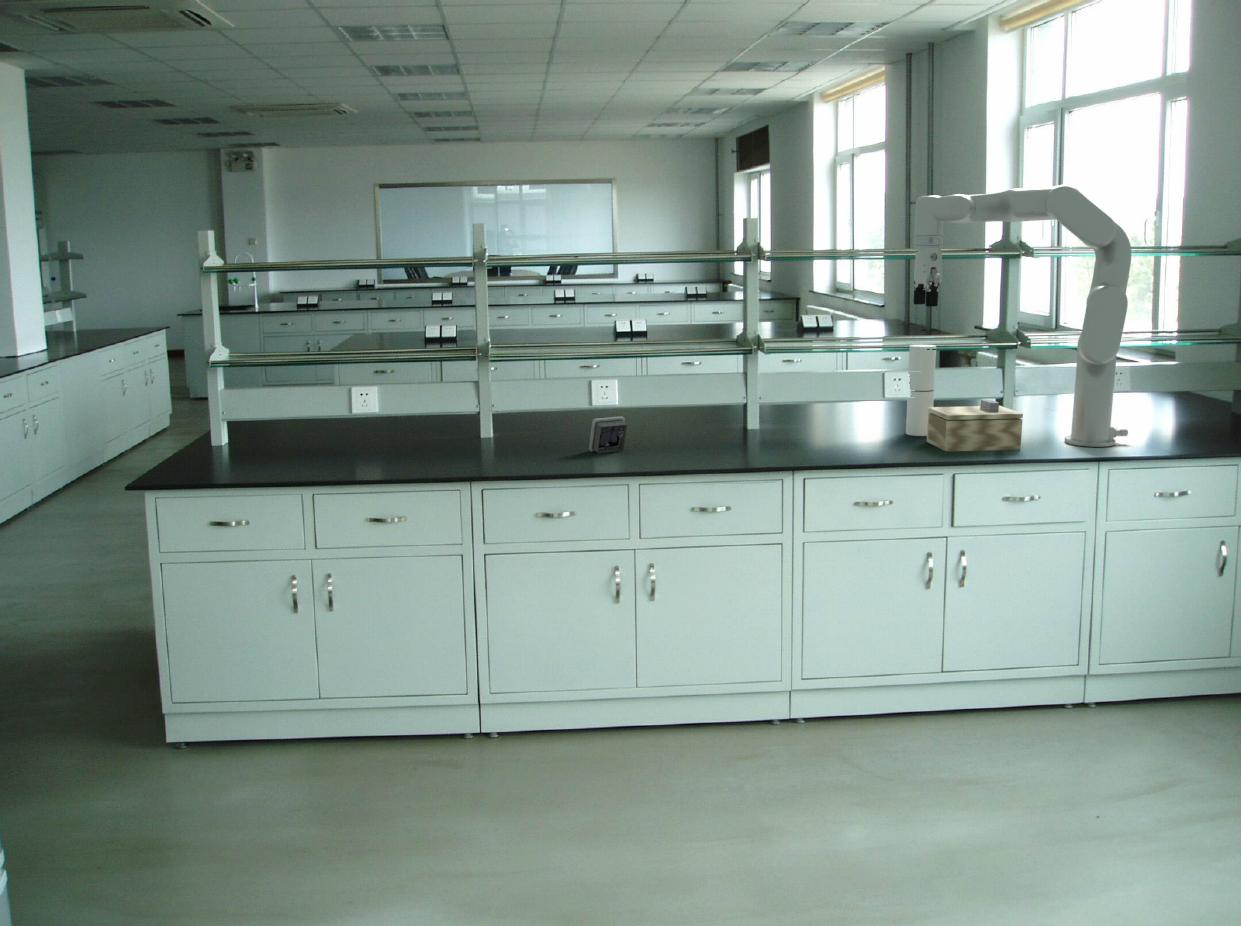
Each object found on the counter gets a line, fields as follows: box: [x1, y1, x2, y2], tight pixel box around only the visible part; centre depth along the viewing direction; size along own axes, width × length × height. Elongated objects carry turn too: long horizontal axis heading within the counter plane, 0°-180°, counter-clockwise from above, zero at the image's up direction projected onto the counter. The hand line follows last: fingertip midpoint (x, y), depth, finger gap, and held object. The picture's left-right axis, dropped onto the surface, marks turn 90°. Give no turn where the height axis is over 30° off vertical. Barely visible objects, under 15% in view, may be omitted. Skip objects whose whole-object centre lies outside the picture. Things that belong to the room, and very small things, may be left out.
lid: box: [928, 398, 1024, 420], centre depth 284 cm, size 20×14×4 cm
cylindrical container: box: [905, 344, 937, 437], centre depth 302 cm, size 7×7×25 cm
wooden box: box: [926, 413, 1024, 452], centre depth 286 cm, size 20×14×8 cm
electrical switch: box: [588, 415, 628, 454], centre depth 282 cm, size 9×5×9 cm, turn 118°
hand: (925, 305), depth 297 cm, fingers open, 9 cm apart
